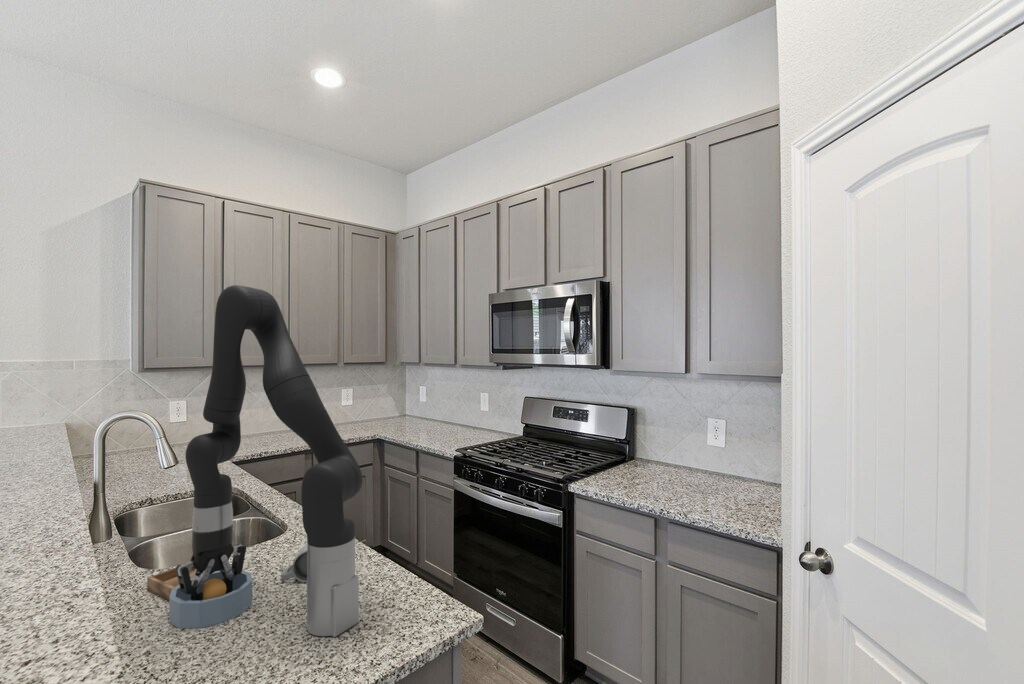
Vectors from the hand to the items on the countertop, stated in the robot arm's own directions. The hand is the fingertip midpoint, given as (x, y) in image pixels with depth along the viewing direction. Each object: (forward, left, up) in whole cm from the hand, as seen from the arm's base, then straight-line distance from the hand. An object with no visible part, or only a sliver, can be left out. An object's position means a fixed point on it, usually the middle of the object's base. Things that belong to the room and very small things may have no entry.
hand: (212, 602), depth 105 cm
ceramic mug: (-5, -20, -2) cm, 20 cm away
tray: (+15, -3, -1) cm, 16 cm away
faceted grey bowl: (0, 0, -1) cm, 1 cm away
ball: (0, 0, +2) cm, 2 cm away
